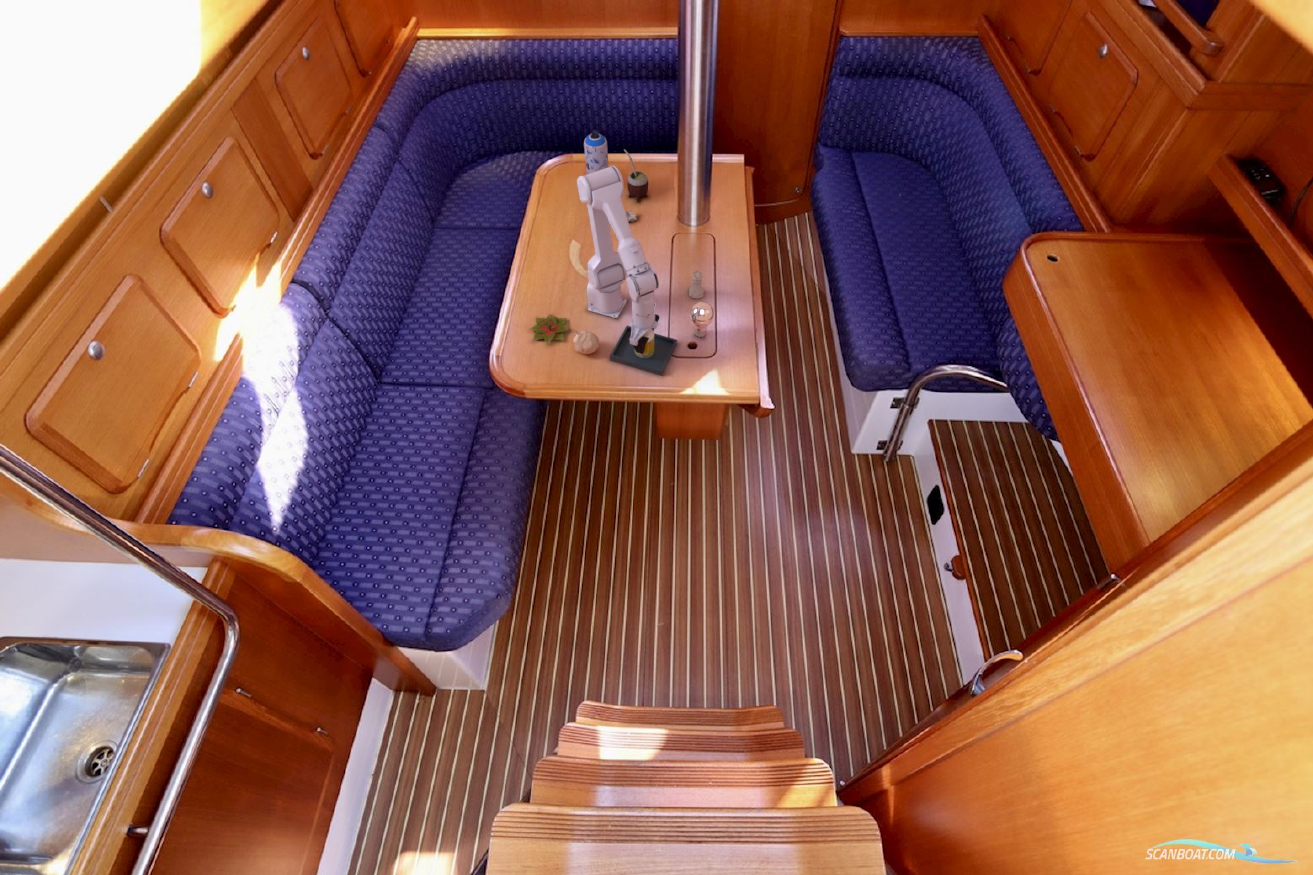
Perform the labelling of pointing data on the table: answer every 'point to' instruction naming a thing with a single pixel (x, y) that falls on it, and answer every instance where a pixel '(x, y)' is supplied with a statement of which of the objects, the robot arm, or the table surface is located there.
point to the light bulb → (701, 317)
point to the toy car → (631, 216)
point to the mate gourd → (637, 183)
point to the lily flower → (549, 328)
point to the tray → (652, 364)
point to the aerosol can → (595, 152)
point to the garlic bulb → (585, 342)
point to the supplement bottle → (648, 345)
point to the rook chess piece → (696, 285)
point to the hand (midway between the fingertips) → (643, 344)
